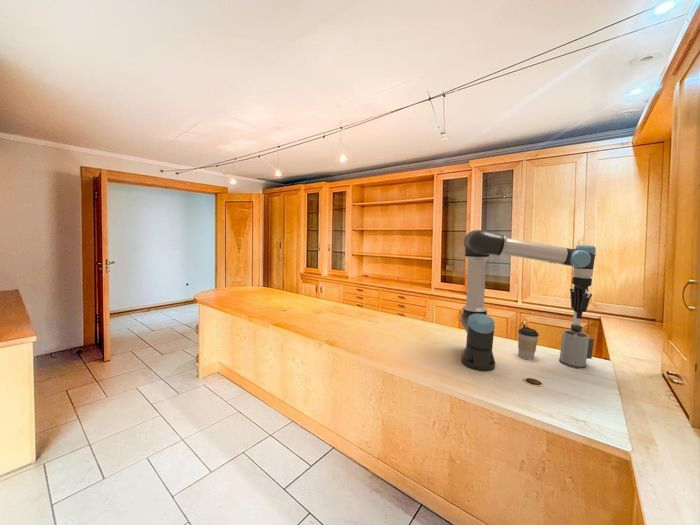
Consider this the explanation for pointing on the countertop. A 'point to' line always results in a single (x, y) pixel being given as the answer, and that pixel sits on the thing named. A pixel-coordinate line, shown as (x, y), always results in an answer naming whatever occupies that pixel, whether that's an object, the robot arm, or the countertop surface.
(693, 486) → the countertop surface
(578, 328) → the plunger
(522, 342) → the coffee cup
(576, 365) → the press beaker
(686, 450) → the countertop surface
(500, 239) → the robot arm
